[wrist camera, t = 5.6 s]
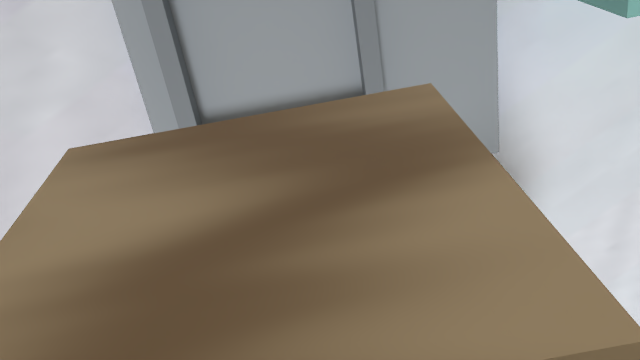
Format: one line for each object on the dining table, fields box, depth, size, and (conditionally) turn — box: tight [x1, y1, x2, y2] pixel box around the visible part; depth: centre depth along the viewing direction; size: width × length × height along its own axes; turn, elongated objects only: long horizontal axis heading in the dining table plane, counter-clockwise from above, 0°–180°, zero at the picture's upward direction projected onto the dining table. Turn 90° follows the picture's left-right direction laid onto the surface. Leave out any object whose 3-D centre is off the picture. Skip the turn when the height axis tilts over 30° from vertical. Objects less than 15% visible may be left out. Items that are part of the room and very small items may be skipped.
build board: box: [112, 0, 499, 153], centre depth 25 cm, size 16×12×2 cm
